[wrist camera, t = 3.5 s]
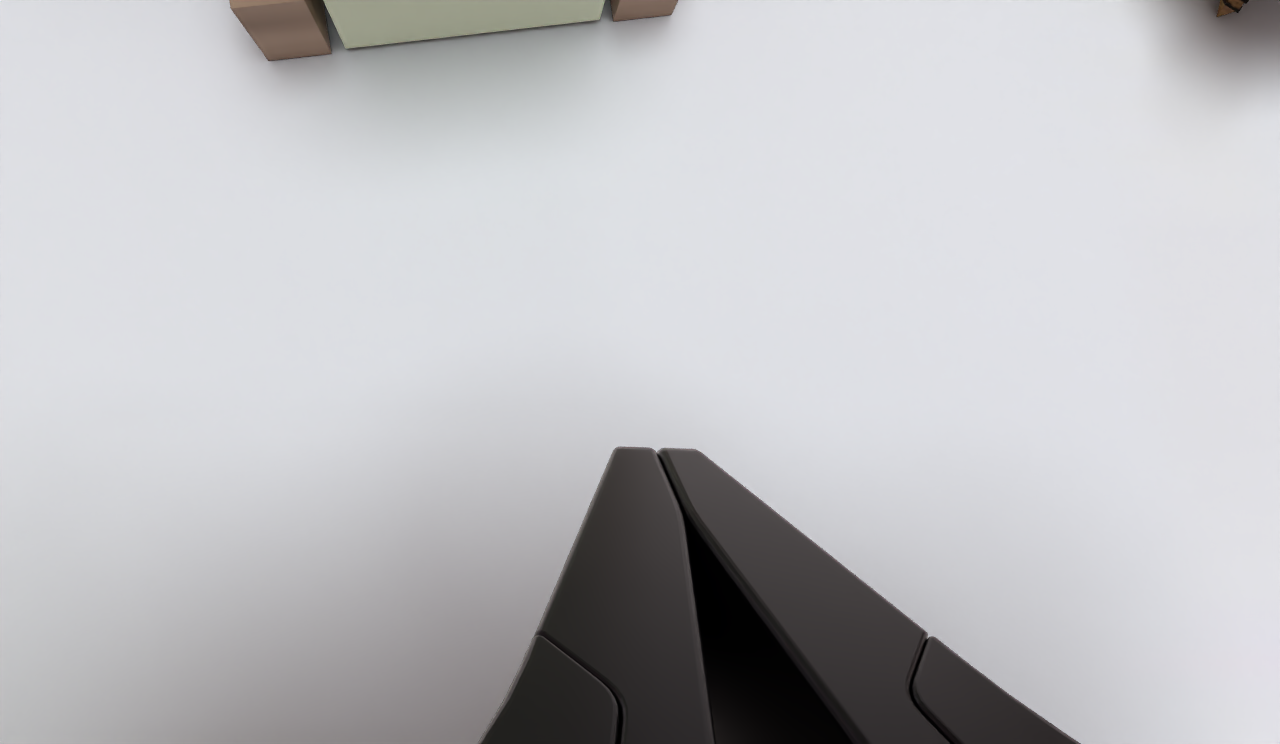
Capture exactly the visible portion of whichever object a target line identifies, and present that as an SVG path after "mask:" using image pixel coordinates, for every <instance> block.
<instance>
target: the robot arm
mask: <svg viewBox="0 0 1280 744" xmlns="http://www.w3.org/2000/svg"><path fill="white" fill-rule="evenodd" d="M927 638H928V634H927V632H926V631H925V630H923V629H922V628H921V627H920V626H918V625H917V624H916V623H915V622H913V621H912V620H911V619H910V618H908V617H907V616H906V615H905V614H903V613H902V612H901V611H900V610H898V609H897V608H896V607H895V606H893V605H892V604H891V603H890V602H888V601H887V600H886V599H885V598H883V597H882V596H881V595H880V594H878V593H877V592H876V591H875V590H873V589H872V588H871V587H869V586H868V585H867V584H866V583H864V582H863V581H862V580H861V579H859V578H858V577H857V576H856V575H854V574H853V573H852V572H851V571H849V570H848V569H847V568H846V567H844V566H843V565H842V564H841V563H839V562H838V561H837V560H836V559H834V558H833V557H832V556H831V555H829V554H828V553H827V552H826V551H824V550H823V549H822V548H821V547H819V546H818V545H817V544H816V543H814V542H813V541H812V540H810V539H809V538H808V537H807V536H805V535H804V534H803V533H802V532H800V531H799V530H798V529H797V528H795V527H794V526H793V525H792V524H790V523H789V522H788V521H787V520H785V519H784V518H783V517H782V516H780V515H779V514H778V513H777V512H775V511H774V510H773V509H772V508H770V507H769V506H768V505H767V504H765V503H764V502H763V501H762V500H760V499H759V498H758V497H757V496H755V495H754V494H753V493H751V492H750V491H749V490H748V489H746V488H745V487H744V486H743V485H741V484H740V483H739V482H738V481H736V480H735V479H734V478H733V477H731V476H730V475H729V474H728V473H726V472H725V471H724V470H723V469H721V468H720V467H719V466H718V465H716V464H715V463H714V462H713V461H711V460H710V459H709V458H708V457H706V456H705V455H704V454H703V453H701V452H699V451H698V450H696V449H679V448H662V449H660V450H659V451H658V452H657V453H656V451H655V450H654V449H652V448H647V447H617V448H615V449H614V450H613V452H612V454H611V457H610V459H609V461H608V464H607V466H606V468H605V471H604V473H603V476H602V478H601V480H600V483H599V485H598V487H597V490H596V492H595V494H594V497H593V499H592V501H591V504H590V506H589V508H588V511H587V513H586V515H585V518H584V520H583V523H582V525H581V527H580V530H579V532H578V534H577V537H576V539H575V541H574V544H573V546H572V548H571V551H570V553H569V555H568V558H567V560H566V563H565V565H564V567H563V570H562V572H561V574H560V577H559V579H558V581H557V584H556V586H555V588H554V591H553V593H552V595H551V598H550V600H549V602H548V605H547V607H546V610H545V612H544V614H543V617H542V619H541V621H540V624H539V626H538V628H537V631H536V633H535V636H534V637H533V638H532V640H531V643H530V645H529V647H528V650H527V652H526V654H525V657H524V659H523V661H522V664H521V666H520V668H519V670H518V672H517V674H516V676H515V678H514V680H513V682H512V684H511V686H510V688H509V690H508V692H507V694H506V696H505V698H504V700H503V702H502V704H501V706H500V707H499V709H498V711H497V712H496V714H495V716H494V717H493V719H492V721H491V722H490V724H489V726H488V727H487V729H486V731H485V732H484V734H483V736H482V737H481V739H480V741H479V742H478V744H1080V743H1079V742H1077V741H1076V740H1074V739H1073V738H1071V737H1070V736H1068V735H1067V734H1065V733H1064V732H1062V731H1061V730H1060V729H1058V728H1057V727H1055V726H1054V725H1052V724H1051V723H1049V722H1048V721H1047V720H1045V719H1044V718H1042V717H1041V716H1039V715H1038V714H1037V713H1035V712H1034V711H1032V710H1031V709H1029V708H1028V707H1027V706H1025V705H1024V704H1022V703H1021V702H1019V701H1018V700H1017V699H1015V698H1014V697H1012V696H1011V695H1009V694H1008V693H1007V692H1005V691H1004V690H1003V689H1002V688H1000V687H999V686H998V685H996V684H995V683H994V682H992V681H991V680H990V679H988V678H987V677H986V676H984V675H983V674H982V673H980V672H979V671H978V670H977V669H975V668H974V667H973V666H971V665H970V664H969V663H967V662H966V661H965V660H963V659H962V658H961V657H960V656H958V655H957V654H956V653H955V652H953V651H952V650H951V649H949V648H948V647H947V646H946V645H944V644H943V643H942V642H941V641H939V640H938V639H937V638H936V637H933V636H931V637H929V638H928V639H927Z"/></svg>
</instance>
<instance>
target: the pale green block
mask: <svg viewBox="0 0 1280 744" xmlns="http://www.w3.org/2000/svg"><path fill="white" fill-rule="evenodd" d="M323 1H324V3H325V5H326V8H327V10H328V12H329V14H330V16H331V18H332V20H333V23H334V25H335V27H336V29H337V31H338V33H339V36H340V38H341V40H342V42H343V44H344V46H345V49H348V48H357V47H366V46H374V45H383V44H392V43H401V42H409V41H418V40H427V39H436V38H445V37H453V36H462V35H471V34H480V33H488V32H497V31H506V30H515V29H524V28H532V27H541V26H550V25H559V24H567V23H576V22H585V21H594V20H600V17H601V13H602V9H603V6H604V2H605V0H323Z"/></svg>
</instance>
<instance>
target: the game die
mask: <svg viewBox="0 0 1280 744" xmlns="http://www.w3.org/2000/svg"><path fill="white" fill-rule="evenodd" d="M1248 1H1249V0H1220V4H1219V8H1218V13H1217V17H1219V16H1222V15H1226V14H1229V13H1232V12H1237V13H1238V12H1239V11H1240V10H1241V8H1242V5H1243V4H1244V3H1245V4H1246V3H1247V2H1248Z"/></svg>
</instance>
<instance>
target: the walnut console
mask: <svg viewBox="0 0 1280 744" xmlns="http://www.w3.org/2000/svg"><path fill="white" fill-rule="evenodd" d="M677 2H678V0H610V3H611V10H612V16H613V21H621V20H630V19H639V18H648V17H656V16H665V15H671V14H672V12H673V10H674V8H675V6H676V4H677ZM230 6H231V9H232V11H233V12H234V14H235V15H236V16H237V18H238V19H239V21H240V22H241V23H242V25H243V26H244V27H245V29H246V30H247V32H248V33H249V34H250V36H251V37H252V39H253V40H254V41H255V43H256V44H257V45H258V47H259V48H260V50H261V51H262V52H263V54H264V55H265V57H266V58H267V59H268V61H271V60H280V59H289V58H298V57H306V56H315V55H324V54H331V48H330V41H329V35H328V29H327V22H326V16H325V10H324V3H323V0H230Z"/></svg>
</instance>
